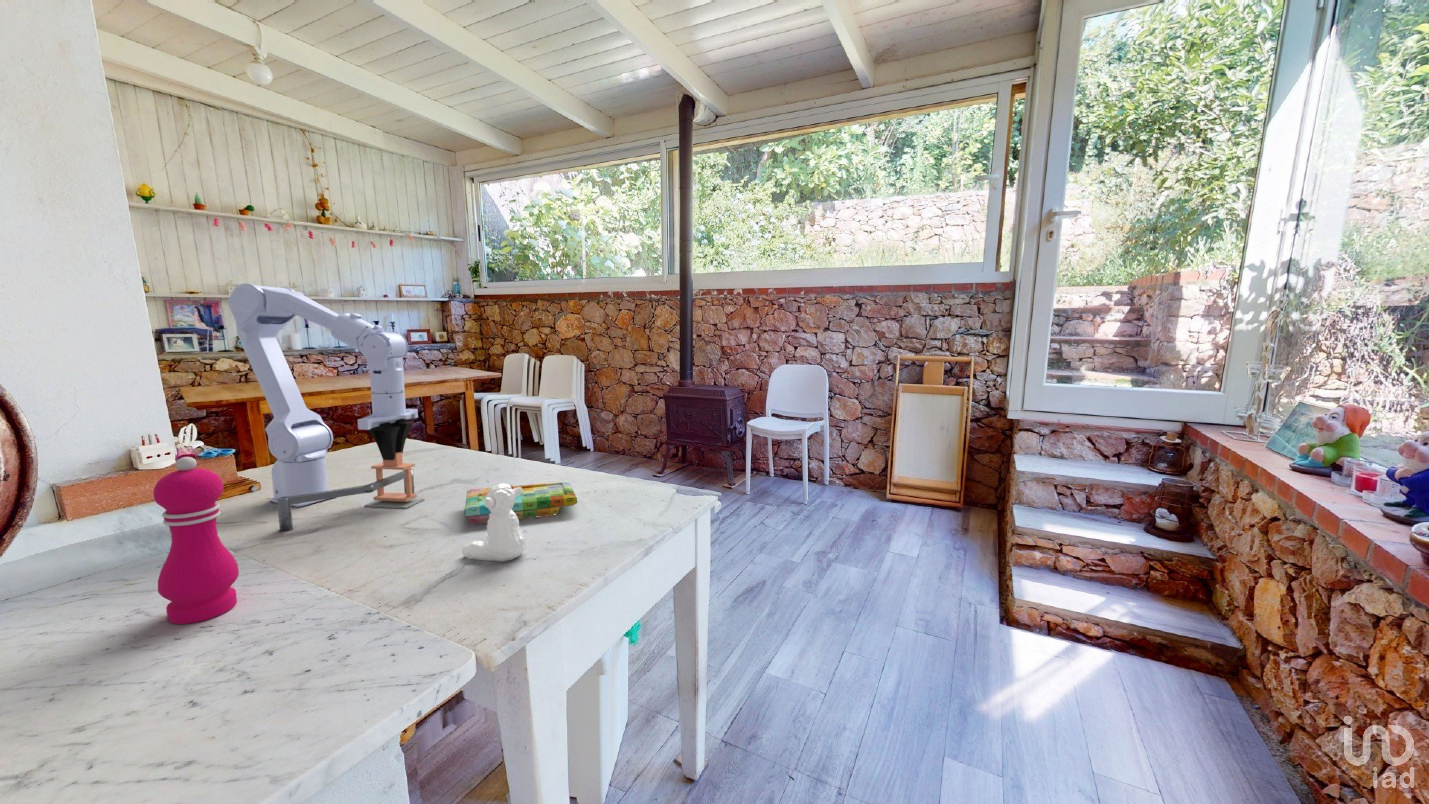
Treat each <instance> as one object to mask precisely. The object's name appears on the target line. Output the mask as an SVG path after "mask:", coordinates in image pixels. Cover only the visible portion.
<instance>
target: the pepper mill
mask: <svg viewBox="0 0 1429 804" xmlns="http://www.w3.org/2000/svg"><path fill="white" fill-rule="evenodd" d="M175 463H176V464H175V467H176V468H177V470H174V471H173V472H172V471H171V472H169V473H167V474H166V475H164V476H163V477H161V478H160V479H159V480H158V481H157V482H156V483H155V485H154V487H153V494H152V495H153V496H152V497H153V499H154V501H155V503H156V504H157V505H158V506H159V507H161V508H163V509H164V510H165V511H163V513H161V516H162V517H163V521H162V523H163V525H164V526H167V527H169V531H170V538H171V539H170V541H171V543H170V548H169V549H170V550H169V552H168V554H167V557H166V559H165V561H164V563H163V565H162V568H161V569H160V572H159V576H158V579H157V592H158V594H159V595H160V596H161V597H162V598H164V599H165V600H168V601H170V602H169V603H168V604H167V605H166V608H165V609H166V619H167V621H168V622H169V623H171V624H172V625H173V624H174V625H187V624H188V625H189V624H194V623H195V624H196V623H199V622H204V621H207V620H210V619H212V618H216V617H218V616H221V615H223V614H225V613H227V612H229V611H230V610H232V609H233V608H234V607H235V606H236V605H237V602H238V598H237V597H238V596H237V590H236V589H235V588H234V587H232V586H233V585H234V584H235V582H236V581H237V579H238V577H239V574H240V569H239V565H238V562H237V560H236V558H235V557H234V556H233V554H232V553H231V551H229V550H228V549H227V547H226V546H225V545H224V544H223V542H222V541H221V539H220V537H219V534H218V528H217V518H218V517H220V515H221V513H222V512H221V511H220V507H221V505H220V503H217V500H218V499H219V498H220V497H221V495H222V494H223V492H224V483H223V479H221V477H220V476H219V474H217V473H216V472H214V471H213V470H210V469H206V468H201V467H200V468H197V464H198V463H197V460H196V458H193V457H192V456H191V457H190V456H184V457H181V458H179V459H177V461H176V462H175Z"/></svg>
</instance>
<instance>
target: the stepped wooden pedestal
mask: <svg viewBox="0 0 1429 804" xmlns="http://www.w3.org/2000/svg"><path fill="white" fill-rule="evenodd" d="M415 466H416V465H415V463H410V462H409V463H408V462H407V463H406V462H403V453H402V452H395V458H394V460H383V459H382V461H381V462H379V463H377V464H374V465H371V466H370V467H371V469H372V470H374V469H375V478H376V479H375V480H376V481H378V480H381V479H384V475H383V470H396V471H398V470H399V471H403V470H405V483H406V493H405V492H404V493H403V492H402V493H401V492H385V489H384V488H385V487H382V488H380V489H377V490H376V492H377V495H376V496H373V498H372V499H373V501H375V500H382V501H403V502H407V501H409V500H411V499H413V498H418V497H417V496H418V495H417V493H414V494H413V492H412V477H411V469H412V468H413V467H415Z"/></svg>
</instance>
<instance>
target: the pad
mask: <svg viewBox="0 0 1429 804" xmlns="http://www.w3.org/2000/svg"><path fill="white" fill-rule="evenodd" d="M415 498H416V497H415ZM415 498H413V499H411V500H409V501H407V502H403V501H382V500H373V501H370V502H368V503H366V504H364V508H365V507H366V508H368V507H369V508H383V507H390V508H389V509H402V508H403V510H407V509H409V508H411V507H413V506H415V505H417V504H418V503H417V502H419V501H421V502H423V501H424V500H423V499H424V498H422V497H421V498H420V497H419V498H420V499H415ZM422 500H423V501H422ZM416 503H417V504H416ZM419 503H420V502H419ZM414 504H415V505H414ZM412 505H413V506H412ZM408 507H409V508H408Z"/></svg>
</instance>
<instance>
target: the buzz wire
mask: <svg viewBox="0 0 1429 804" xmlns="http://www.w3.org/2000/svg"><path fill="white" fill-rule="evenodd" d="M411 477H412V492H413V494H415V482H414V481H415V480H414V469H412V468H411ZM401 480H403V486H404V487H403V489H404V493H406V483H405V470H401V471H399V472H397V473H395V474H392V475H389V476H386V477H385V478H384V477H383V479H381V480H378V481H377V480H376V481H373V482H371V483H368V484H364V485H358V486H353V487H345V488H337V489H331V490H328V491H323V492H316V493H309V494H303V495H296V496H289V497H280V498H277V503H276V504H277V506H276V507H277V516H278V517H277V518H278V525H279V528H278V529H279V532H282V533H284V532H285V533H286V532H288V531H292V530H293V529H294V527H293V517H292V516H293V515H292V514H293V513H292V506H291V505H292V504H298V503H304V502H311V501H317V500H322V501H325V500H324V499H326V500H330V499H336V498H342V497H348V496H356V495H363V494H370V493H373V492H375V491H377V489H380V488H382V487H384V488H385V487H387V486H390V485H391V484H394V483H397V482H399V481H401Z"/></svg>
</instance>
